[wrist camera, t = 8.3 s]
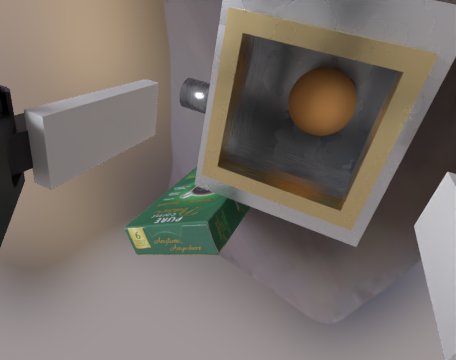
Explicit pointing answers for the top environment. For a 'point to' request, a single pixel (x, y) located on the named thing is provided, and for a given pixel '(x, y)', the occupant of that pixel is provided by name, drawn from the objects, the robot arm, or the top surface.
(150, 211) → the coffee box
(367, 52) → the metal box
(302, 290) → the top surface
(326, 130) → the bead
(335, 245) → the top surface
